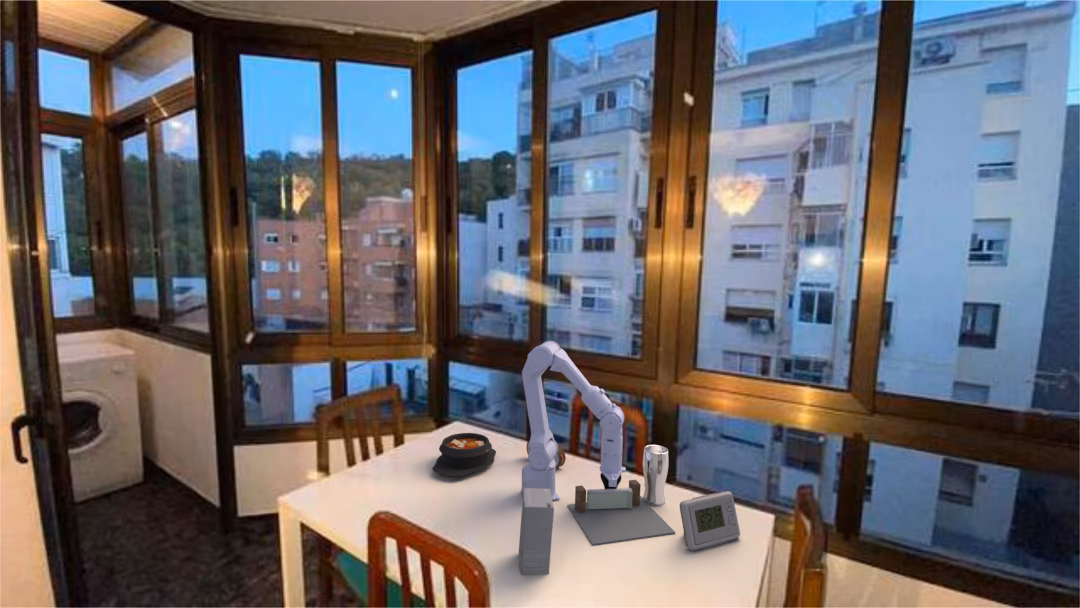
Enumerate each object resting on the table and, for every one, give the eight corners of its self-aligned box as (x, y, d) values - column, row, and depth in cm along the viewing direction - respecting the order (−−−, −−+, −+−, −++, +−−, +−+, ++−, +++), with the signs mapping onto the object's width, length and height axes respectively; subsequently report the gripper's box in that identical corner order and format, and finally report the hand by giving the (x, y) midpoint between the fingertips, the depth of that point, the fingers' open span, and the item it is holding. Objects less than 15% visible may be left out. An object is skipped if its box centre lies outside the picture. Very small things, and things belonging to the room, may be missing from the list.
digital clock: (687, 554, 114) (689, 510, 113) (669, 532, 123) (670, 492, 122) (749, 547, 117) (751, 504, 116) (727, 526, 126) (729, 486, 125)
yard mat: (592, 545, 116) (592, 543, 116) (567, 506, 135) (567, 504, 135) (675, 533, 122) (675, 532, 122) (640, 497, 140) (640, 496, 140)
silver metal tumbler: (664, 495, 142) (666, 445, 140) (668, 507, 135) (670, 454, 134) (640, 493, 143) (642, 443, 141) (642, 505, 136) (644, 453, 134)
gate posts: (578, 514, 130) (579, 491, 130) (574, 509, 133) (575, 486, 132) (639, 507, 135) (640, 484, 134) (634, 501, 138) (635, 479, 137)
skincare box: (518, 552, 113) (519, 486, 111) (549, 551, 114) (550, 486, 112) (519, 576, 105) (521, 505, 103) (553, 575, 105) (554, 504, 104)
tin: (565, 470, 158) (566, 444, 157) (559, 473, 155) (560, 447, 154) (530, 457, 167) (531, 433, 167) (524, 459, 165) (525, 435, 164)
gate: (588, 510, 131) (588, 491, 131) (586, 506, 133) (587, 488, 133) (632, 508, 133) (632, 490, 132) (629, 504, 135) (630, 486, 134)
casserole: (469, 487, 144) (469, 460, 144) (417, 475, 152) (417, 448, 151) (508, 456, 167) (509, 433, 166) (462, 447, 175) (462, 424, 174)
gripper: (629, 464, 126) (627, 514, 127) (623, 442, 140) (622, 488, 141) (601, 462, 126) (600, 513, 128) (599, 441, 141) (597, 487, 142)
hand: (610, 500), depth 135 cm, fingers closed, pressing on gate
